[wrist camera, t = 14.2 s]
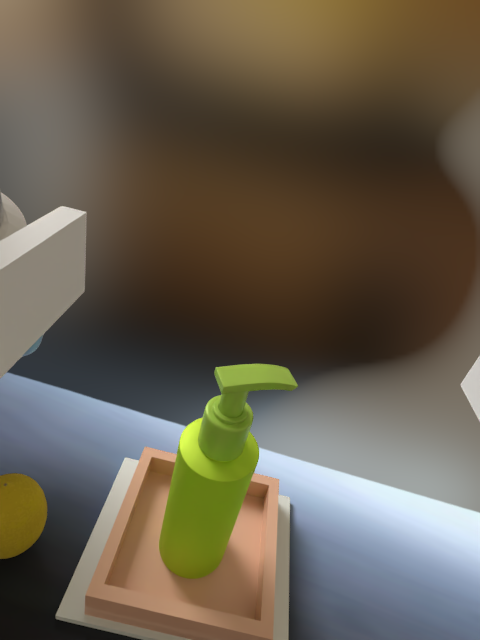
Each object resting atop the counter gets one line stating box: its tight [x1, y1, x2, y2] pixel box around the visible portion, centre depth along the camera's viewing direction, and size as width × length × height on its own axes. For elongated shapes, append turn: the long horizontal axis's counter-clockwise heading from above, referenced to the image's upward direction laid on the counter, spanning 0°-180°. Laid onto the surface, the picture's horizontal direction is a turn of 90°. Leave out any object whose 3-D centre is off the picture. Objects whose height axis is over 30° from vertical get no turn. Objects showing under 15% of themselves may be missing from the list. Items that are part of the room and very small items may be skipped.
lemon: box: [0, 473, 47, 559], centre depth 33 cm, size 6×6×8 cm
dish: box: [84, 447, 279, 640], centre depth 37 cm, size 14×14×3 cm
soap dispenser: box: [159, 364, 298, 579], centre depth 32 cm, size 6×7×20 cm
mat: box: [55, 458, 290, 640], centre depth 38 cm, size 18×15×1 cm
